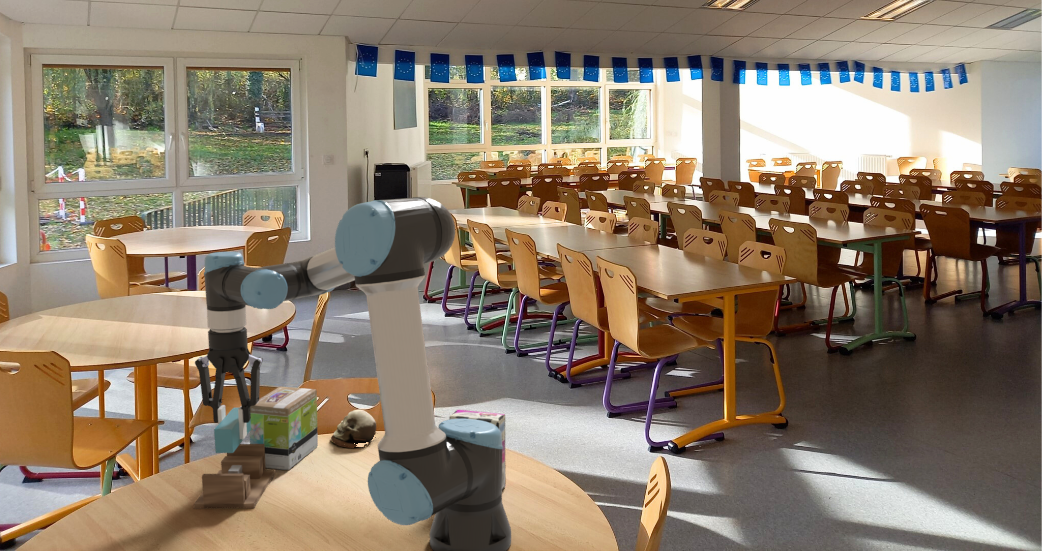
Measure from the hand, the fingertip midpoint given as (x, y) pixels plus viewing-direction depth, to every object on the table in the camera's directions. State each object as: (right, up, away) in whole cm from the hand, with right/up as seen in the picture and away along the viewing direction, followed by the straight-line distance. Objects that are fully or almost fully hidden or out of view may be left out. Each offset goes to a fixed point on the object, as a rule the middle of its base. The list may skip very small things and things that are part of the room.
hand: (233, 436), depth 179 cm
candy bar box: (+51, -12, +4) cm, 52 cm away
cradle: (0, -12, +2) cm, 12 cm away
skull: (+20, -7, +31) cm, 38 cm away
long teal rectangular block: (0, -1, +1) cm, 1 cm away
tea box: (+5, -9, +21) cm, 23 cm away
